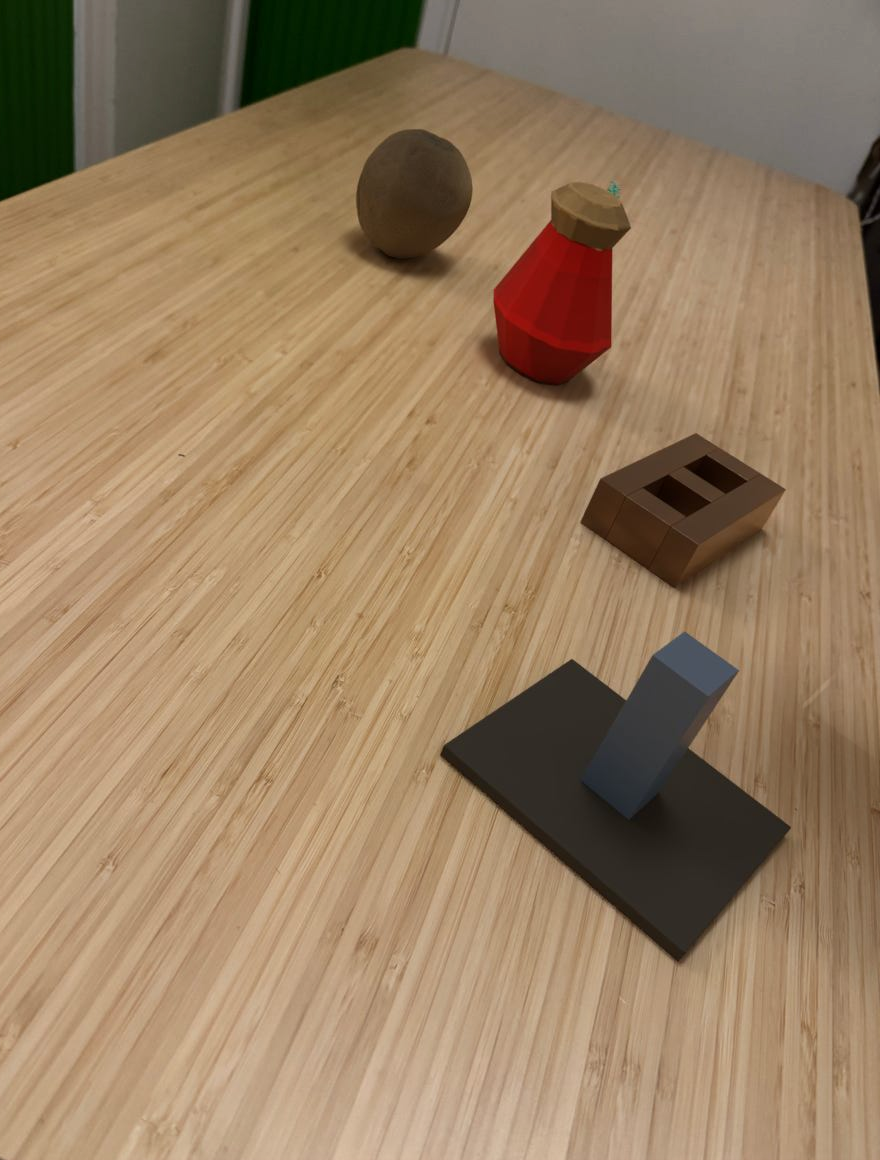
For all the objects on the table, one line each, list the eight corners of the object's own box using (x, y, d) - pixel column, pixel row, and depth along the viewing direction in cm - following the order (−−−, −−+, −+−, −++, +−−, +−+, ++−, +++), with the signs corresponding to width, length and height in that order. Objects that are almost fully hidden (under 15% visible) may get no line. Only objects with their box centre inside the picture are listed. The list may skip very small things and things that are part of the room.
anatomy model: (572, 165, 174) (586, 175, 169) (614, 176, 176) (629, 185, 171) (562, 197, 177) (575, 207, 171) (603, 207, 179) (618, 217, 174)
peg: (659, 792, 72) (739, 670, 65) (628, 820, 69) (709, 696, 62) (611, 754, 74) (684, 630, 66) (580, 780, 71) (652, 654, 63)
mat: (784, 835, 74) (791, 827, 73) (678, 961, 63) (685, 953, 62) (567, 667, 81) (572, 658, 81) (439, 754, 71) (443, 744, 70)
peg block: (762, 529, 107) (786, 489, 104) (674, 588, 94) (698, 544, 91) (675, 472, 111) (696, 432, 108) (580, 522, 98) (600, 478, 95)
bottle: (615, 398, 121) (690, 230, 108) (525, 402, 114) (594, 223, 101) (541, 330, 130) (602, 168, 117) (453, 330, 123) (508, 158, 110)
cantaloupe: (415, 287, 130) (450, 165, 120) (324, 240, 133) (351, 117, 124) (467, 265, 140) (503, 151, 131) (381, 222, 144) (410, 107, 134)
